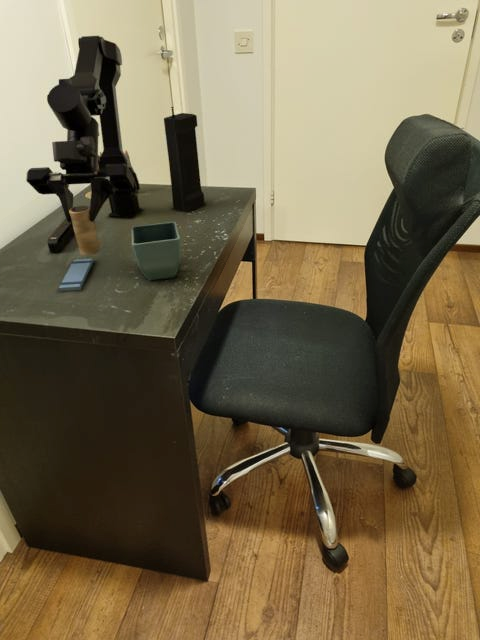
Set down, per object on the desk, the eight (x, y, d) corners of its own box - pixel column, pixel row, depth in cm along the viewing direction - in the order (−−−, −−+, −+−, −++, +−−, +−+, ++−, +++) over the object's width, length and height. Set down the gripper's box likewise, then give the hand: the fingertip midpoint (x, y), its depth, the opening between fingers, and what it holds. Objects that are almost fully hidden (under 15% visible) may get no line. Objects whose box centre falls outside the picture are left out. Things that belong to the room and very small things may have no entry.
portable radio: (190, 199, 129) (180, 101, 115) (207, 203, 126) (198, 102, 112) (171, 208, 124) (157, 106, 110) (188, 212, 121) (176, 108, 107)
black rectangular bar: (74, 222, 120) (71, 211, 118) (84, 221, 119) (81, 210, 118) (49, 253, 105) (45, 240, 103) (60, 252, 105) (56, 240, 103)
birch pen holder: (77, 255, 90) (65, 212, 86) (83, 246, 94) (72, 205, 89) (97, 254, 90) (87, 212, 85) (103, 245, 94) (93, 204, 89)
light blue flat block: (59, 291, 90) (58, 287, 90) (74, 263, 100) (73, 259, 100) (80, 290, 90) (79, 286, 90) (93, 261, 100) (92, 258, 100)
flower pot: (185, 280, 91) (180, 238, 86) (140, 287, 90) (131, 244, 85) (180, 261, 98) (175, 220, 93) (138, 267, 97) (130, 226, 92)
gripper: (13, 122, 83) (8, 205, 80) (118, 116, 82) (117, 200, 79) (42, 156, 93) (38, 230, 90) (134, 151, 93) (134, 225, 90)
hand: (80, 221), depth 87 cm, fingers closed on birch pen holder, 4 cm apart
